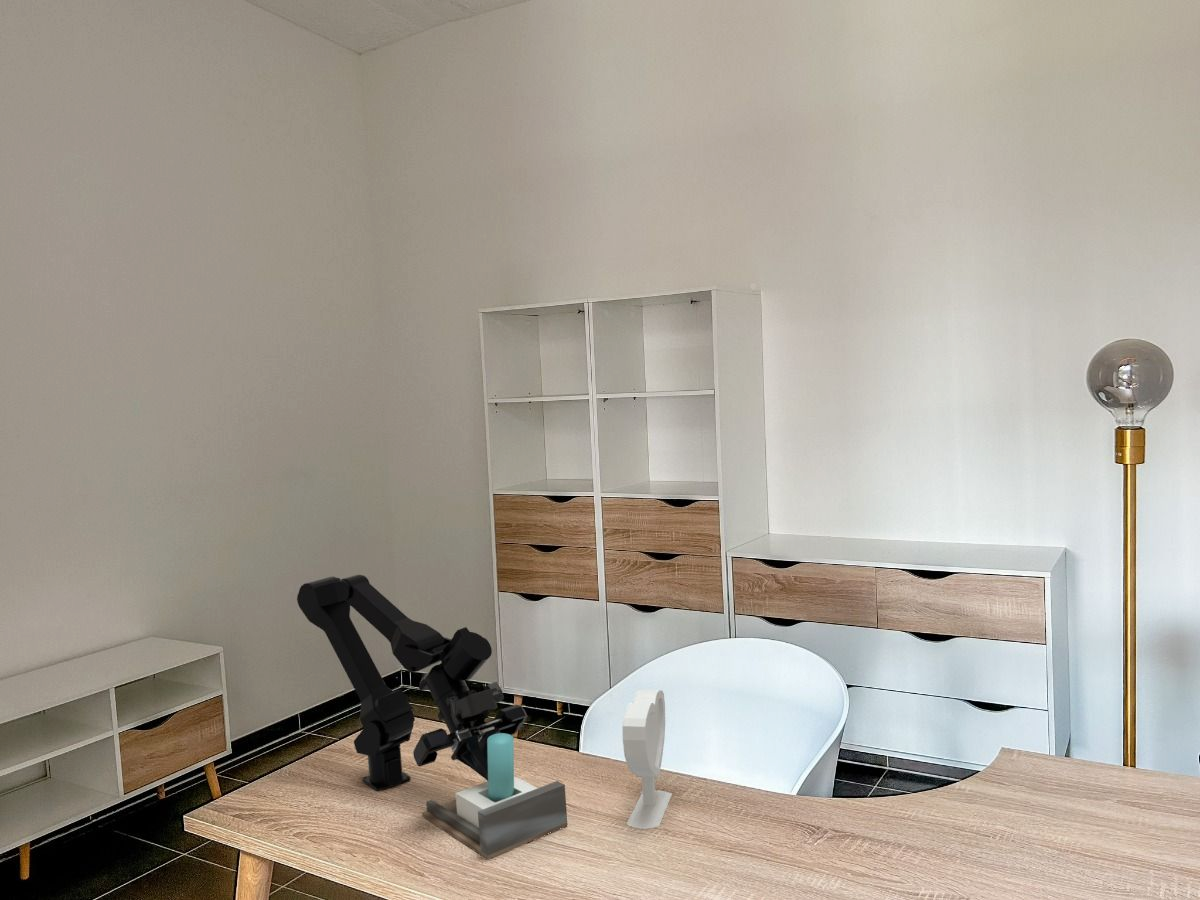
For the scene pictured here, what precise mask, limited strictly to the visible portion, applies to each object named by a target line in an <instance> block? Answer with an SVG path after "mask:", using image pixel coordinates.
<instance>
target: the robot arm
mask: <svg viewBox="0 0 1200 900" xmlns="http://www.w3.org/2000/svg"><path fill="white" fill-rule="evenodd" d="M296 601H297V605H298V607H299V608H300V611H301V612H302V614H303V615H304V616H305V617H306V619H307V620H308V622H309V623H312V624H313V625H314V626H316V628H317V627H318V628H319V629H320V630H322V631H323V632H324V634H325V635H326V637H327V639H328V641H329V643H330V644H331V647H332V648H333V650H334V653H335V654H336V657H337V658H338V660H339V662H340V664H341V666H342V667H343V670H344V671H345V674H346V675H347V677H348V680H349V681H350V683H351V685H352V687H353V689H354V691H355V693H356V695H357V697H358V698H359V700H360V710H359V712H360V713H359V720H360V723H361V726H362V730H361V731H360V733H358V735H357V737H356V738H355V739H354V740H353V746H354V747H355V751H356V753H357V754H358V755H359V754H360V755H364V756H367V763H368V764H367V765H368V775H365V776H363V777H361V781H362V782H363V783H364V784H366V785H368V786H369V787H371V788H373V790H376V791H382V790H385V789H387V788H390V787H394V786H396V785H400V784H402V782H403V783H406V782H409V781H410V780H411V776H410V775H409V774H407V773H405V772H404V771H403V763H402V752H401V744H404V743H406V742H408V741H411V736H412V731H413V729H414V724H415V723H414V722H415V721H416V719H415V714H414V712H413V710H414V707H413V706H412V705H411V704H410V702H409V701H408V698H407V695H406V693H405V692H404V691H403V690H402V689H401V688H400V689H398V690H395V691H394V690H393V689H391V688H390V687H388V686H387V685H386V682H385V681H384V679H383V677H382V675H381V673H380V672H379V670H378V668H377V665H376V664H375V662H374V661H373V658H372V656H371V655H370V653H369V651H368V649H367V646H366V645H365V643H364V641H363V639H362V637H361V635H360V634H359V632H358V630H357V628H356V627H355V624H354V623H353V620H352V619H351V607H352V608H353V610H355V611H356V612H357V613H358V614H359V615H360V616H361V617H363V619H365V620H366V621H367V622H368V623H369V624H370V625H371V626H373V628H374V629H375V630H377V631H378V632H379V633H380V634H381V635H382V636H383V637H384V638H386V639H387V641H388V642H389V643H390V647H391V651H392V655H393V656H394V657H395V659H396V660H397V661H398V662H399V664H400V665H401V666H402V667H403V668H404V669H405V670H406V671H408V672H410V673H415V672H420V671H422V670H425V669H426V668H429V667H431V668H430V670H429V671H428V672H426V673H425V672H424V673H422V674H421V680H420V682H419V687H418V690H419V691H421V692H422V691H427V690H429V692H430V694H431V696H432V698H433V700H434V702H435V704H436V706H437V709H438V711H439V712H438V714H437V718H438V719H439V721H444V723H445V725H446V727H447V730H448V731H449V734H448V733H447V731H446V729H443V728H438V729H435V730H432V731H429V732H426V733H422V734H421V736H420V738H419V739H418V741H417V743H416V745H415V747H414V749H413V751H412V752H413V753H412V755H413V759H414V760H415V763H416V766H417V767H423V766H425V765H426V766H427V765H429V764H432V763H434V762H435V761H436V759H437V757H438V755H439V754H438V752H439V751H442V750H444V749H447V748H448V749H449V748H451V750H452V755H451V756H450V759H451V760H452V761H455V760H457V761H459V762H461V763H462V764H463V765H466V766H467V767H468V768H470V769H472V770H473V771H474V772H476V773H477V774H478V775H480V776H481V777H482V778H483V779H485V780H486V782H487V781H488V748H487V739H488V737H490V736H491V735H494V734H498V733H505V734H509V735H511V736H514V735H515V734H517V733H518V732H519V730H520V729H521V728H522V726H523V725H524V723H525V721H526V720H527V719H528V715H527V712H526V710H525V709H524V707H523V706H521V705H519V704H514V705H511V706H507V707H504V708H502V709H499V710H498V712H497V714H496V715H495V717H494V719H492V720H488V721H486V719H487V718H488V717H489V716H490V715H491V712H490V711H491V710H497V709H498V705H497V704H498V703H500V702H503V701H504V698H505V696H504V693H503V690H502V688H501V687H500V685H499V683H498V682H497V681H494V682H492V683H488V684H486V685H485V686H483V690H482V691H479V692H476V690H475V689H474V688H473V689H469V687H468V685H467V683H466V681H470V680H472V679H473V678H474V676H475V675H476V674H477V673H478V672H479V670H480V669H482V668H483V666H484V664H485V663H487V661H488V660H489V659H490V658H491V656H492V651H493V649H492V646H491V643H490V642H489V641H488V639H487V638H485V637H483V636H482V635H481V634H478V633H477V632H473V631H470V630H469V628H468V627H467V626H465V627H461V628H458V629H457V630H456V631H455V632H454V634H453V637H452V638H448V637H445V636H443V634H441V633H440V632H439V631H438V630H436V629H434V628H433V627H432V626H430V625H428V624H426V623H423V622H419V621H416V620H414V619H411V618H410V617H408V616H407V615H406V614H405V613H403V611H401V610H400V609H399V608H398V607H397V606H395V604H393V603H392V602H391V601H390V600H389V599H388V598H386V597H385V596H384V594H382V593H381V592H380V591H378V589H377V588H375V587H374V586H373V585H372V584H371V583H370V580H369V578H368V577H366V576H365V575H364V574H355V575H351V576H348V577H343V578H342V579H341V578H340V577H336V576H328V577H325V578H321V579H317V580H313V581H309V582H306V583H304V584H302V585H301V586H300V587H299V589H298V593H297V596H296ZM405 781H406V782H405ZM399 783H400V784H399Z"/></svg>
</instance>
